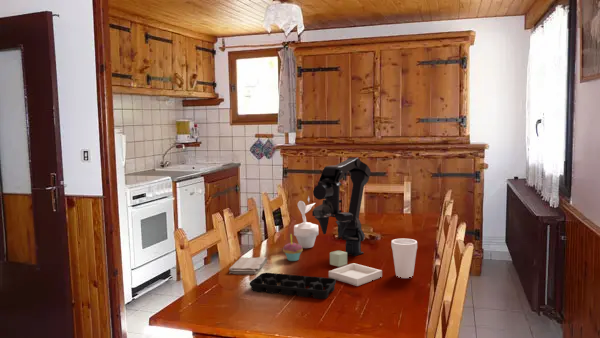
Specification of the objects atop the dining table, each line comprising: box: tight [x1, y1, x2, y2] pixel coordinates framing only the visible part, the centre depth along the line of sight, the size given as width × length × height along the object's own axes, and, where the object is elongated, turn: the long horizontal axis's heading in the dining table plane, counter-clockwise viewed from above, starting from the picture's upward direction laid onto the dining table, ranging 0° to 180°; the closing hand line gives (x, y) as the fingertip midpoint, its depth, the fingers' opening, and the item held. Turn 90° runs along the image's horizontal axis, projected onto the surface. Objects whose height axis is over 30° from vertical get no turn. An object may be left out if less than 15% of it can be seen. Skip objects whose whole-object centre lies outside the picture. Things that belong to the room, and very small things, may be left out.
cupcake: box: [282, 233, 304, 262], centre depth 212 cm, size 9×8×12 cm
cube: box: [329, 249, 348, 268], centre depth 203 cm, size 5×5×5 cm
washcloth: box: [228, 256, 268, 275], centre depth 202 cm, size 12×18×3 cm, turn 172°
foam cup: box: [390, 237, 418, 279], centre depth 186 cm, size 10×9×13 cm
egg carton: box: [249, 272, 337, 300], centre depth 175 cm, size 18×30×4 cm, turn 82°
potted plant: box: [293, 195, 319, 249], centre depth 232 cm, size 13×12×25 cm
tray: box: [328, 262, 383, 287], centre depth 186 cm, size 14×14×2 cm
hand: (331, 235), depth 202 cm, fingers open, 9 cm apart
